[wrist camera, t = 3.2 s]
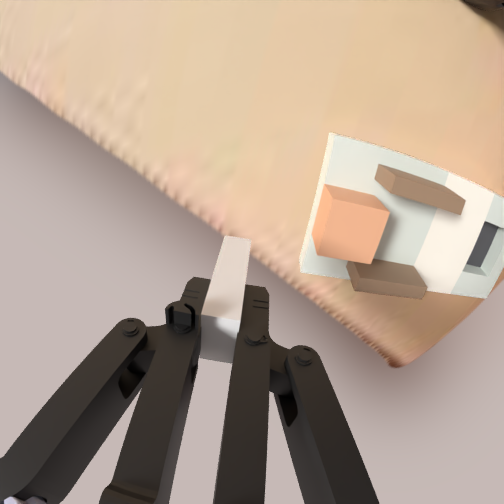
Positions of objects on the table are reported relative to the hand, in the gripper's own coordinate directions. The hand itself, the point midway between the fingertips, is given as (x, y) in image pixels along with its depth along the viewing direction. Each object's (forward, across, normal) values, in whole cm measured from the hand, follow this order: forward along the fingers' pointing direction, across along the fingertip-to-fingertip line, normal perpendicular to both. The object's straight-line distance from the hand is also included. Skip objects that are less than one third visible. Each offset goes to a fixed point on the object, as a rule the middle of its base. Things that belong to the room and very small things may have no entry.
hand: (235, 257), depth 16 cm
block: (+10, +9, 0) cm, 13 cm away
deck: (+12, +21, 0) cm, 24 cm away
